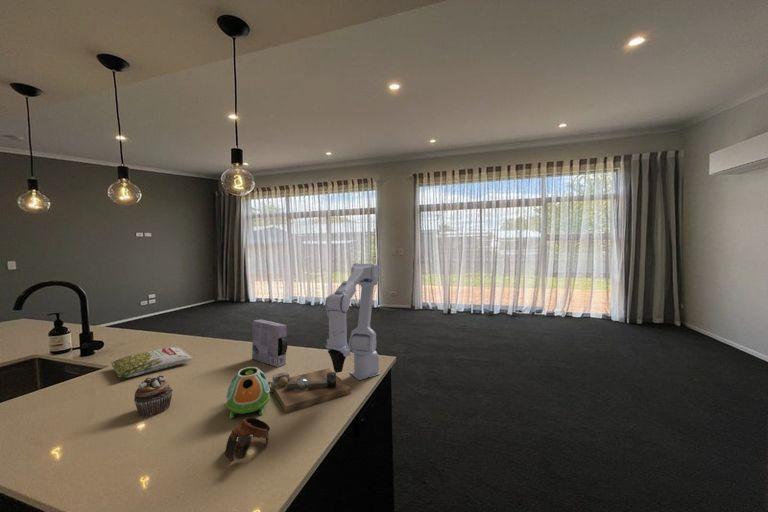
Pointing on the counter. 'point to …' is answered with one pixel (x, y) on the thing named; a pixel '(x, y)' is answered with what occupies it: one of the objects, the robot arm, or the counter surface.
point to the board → (306, 390)
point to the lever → (313, 382)
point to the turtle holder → (248, 392)
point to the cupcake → (153, 396)
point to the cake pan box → (269, 342)
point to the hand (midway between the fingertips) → (338, 371)
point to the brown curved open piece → (245, 437)
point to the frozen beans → (150, 361)
